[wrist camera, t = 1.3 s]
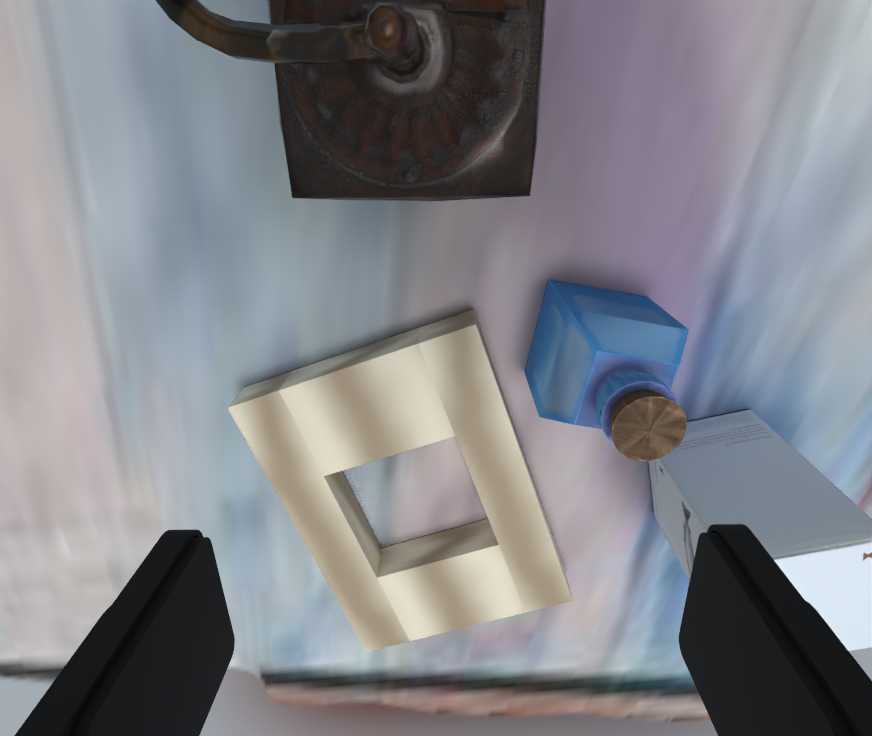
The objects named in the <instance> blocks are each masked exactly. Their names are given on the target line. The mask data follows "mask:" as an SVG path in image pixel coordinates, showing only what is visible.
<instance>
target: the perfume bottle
mask: <svg viewBox="0 0 872 736" xmlns="http://www.w3.org/2000/svg"><path fill="white" fill-rule="evenodd" d="M688 331H689V330H688V329H687V328H686V327H685V326H683V325H682V324H681V323H680V322H678V321H677V320H676V319H675V318H673V317H672V316H671V315H670V314H668V313H667V312H666V311H665V310H663V309H662V308H661V307H659V306H658V305H657V304H656V303H654V302H653V301H652V300H651V299H649V298H648V297H646V296H640V295H634V294H629V293H623V292H617V291H611V290H606V289H600V288H594V287H589V286H583V285H577V284H571V283H566V282H560V281H554V280H549V279H548V283H547V287H546V290H545V294H544V298H543V302H542V306H541V310H540V314H539V318H538V322H537V325H536V329H535V333H534V337H533V341H532V345H531V349H530V353H529V357H528V361H527V364H526V368H525V375H526V378H527V381H528V384H529V387H530V390H531V393H532V396H533V399H534V402H535V405H536V408H537V411H538V414H539V417H542V418H546V419H551V420H555V421H560V422H564V423H568V424H573V425H578V426H585V427H591V428H597V429H602V430H603V432H604V433H605V435H606V436H607V438H608V439H609V440H610V441H612V442H613V443H614V445H615V447H616V448H617V450H618V451H619V452H620V453H621V454H623V455H624V456H626V457H627V458H630V459H633V460H636V461H652V460H656V459H660V458H662V457H664V456H666V455H668V454H670V453H671V452H672V451H673V450H674V449H675V448H677V447H678V446H679V445H680V443H681V441H682V440H683V438H684V436H685V433H686V428H687V421H686V415H685V414H684V412H683V410H682V408H681V407H680V406H679V405H678V401H677V399H676V398H675V396H674V394H673V393H672V391H671V390H670V389H671V386H672V384H673V381H674V378H675V376H676V373H677V370H678V368H679V365H680V361H681V357H682V354H683V350H684V346H685V342H686V338H687V334H688Z"/></svg>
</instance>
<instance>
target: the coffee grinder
mask: <svg viewBox="0 0 872 736" xmlns="http://www.w3.org/2000/svg"><path fill="white" fill-rule="evenodd" d="M156 1H157V3H158V4H159V5H160V6H161V8H162V9H163V10H164V12H165V13H166V14H167V16H168V17H169V18H170V19H171V20H172V21H174V22H175V23H176V24H177V25H179V26H180V27H181V28H182V29H184V30H185V31H186V32H187V33H188V34H190V35H191V36H192V37H193V38H195V39H196V40H198V41H200V42H202V43H204V44H206V45H208V46H210V47H213V48H215V49H217V50H219V51H221V52H223V53H225V54H227V55H229V56H232V57H234V58H237V59H245V60H254V61H262V62H271V63H275V72H276V83H277V94H278V106H279V118H280V126H281V131H282V136H283V141H284V146H285V151H286V158H287V164H288V171H289V178H290V185H291V191H292V198H308V199H334V200H415V201H444V200H462V199H480V198H499V197H517V196H530V190H531V183H532V175H533V167H534V159H535V151H536V142H537V128H538V113H539V98H540V83H541V68H542V53H543V38H544V24H545V9H546V0H267V1H268V9H269V18H270V24H263V23H253V22H244V21H235V20H231V19H229V18H226V17H223V16H221V15H218V14H215V13H213V12H210V11H209V10H208V9H207V8H206V7H205V6H204V5H202V4H201V3H200V2H199V1H198V0H156Z"/></svg>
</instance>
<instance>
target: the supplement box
mask: <svg viewBox="0 0 872 736" xmlns="http://www.w3.org/2000/svg"><path fill="white" fill-rule="evenodd" d="M648 463H649V470H650V478H651V487H652V496H653V507H654V515H655V517H656V519H657V521H658V523H659V525H660V526H661V528H662V530H663V532H664V534H665V536H666V538H667V540H668V542H669V544H670V545H671V547H672V549H673V551H674V553H675V555H676V557H677V558H678V560H679V562H680V564H681V566H682V568H683V570H684V571H685V573H686V575H687V577H688V579H689V581H690V578H691V573H692V568H693V563H694V558H695V553H696V548H697V543H698V538H699V535H700V534H701V533H703V532H707V530H708V528H709V527H710V525H713V524H744V525H746V526H747V527H748V528H749V529H750V530H751V531H752V532H753V534H754V535H755V536H756V538H757V539H758V540H759V541H760V543H761V544H762V545H763V547H764V548H765V549H766V550H767V552H768V553H769V554H770V556H771V557H772V558H773V560H774V561H775V562H776V563H777V565H778V566H779V567H780V569H781V570H782V571H783V573H784V574H785V575H786V576H787V578H788V579H789V580H790V582H791V583H792V584H793V586H794V587H795V588H796V589H797V591H798V592H799V593H800V595H801V596H802V597H803V599H804V600H805V601H807V602H809V603H810V604H811V605H812V606H813V607H814V608H815V609H816V610H817V611H818V613H819V614H820V615H821V617H822V618H823V619H824V620H825V622H826V623H827V624H828V626H829V627H830V628H831V629H832V631H833V632H834V633H835V635H836V636H837V637H838V638H839V640H840V641H841V642H842V644H843V645H844V646H845V647H846V649H847V650H848V651H851V650H857V649H864V648H871V647H872V519H871V518H870V517H869V516H868V515H867V514H866V513H865V512H864V511H863V510H861V509H860V508H859V507H858V506H857V505H856V504H855V503H854V502H853V501H852V500H850V499H849V498H848V497H847V496H846V495H845V494H844V493H843V492H842V491H841V490H839V489H838V488H837V487H836V486H835V485H834V484H833V483H832V482H831V481H829V480H828V479H827V478H826V477H825V476H824V475H823V474H822V473H821V472H820V471H818V470H817V469H816V468H815V467H814V466H813V465H812V464H811V463H810V462H809V461H807V460H806V459H805V458H804V457H803V456H802V455H801V454H800V453H799V452H797V451H796V450H795V449H794V448H793V447H792V446H791V445H790V444H789V443H787V442H786V441H785V440H784V439H783V438H782V437H781V436H780V435H779V434H778V433H776V432H775V431H774V430H773V429H772V428H771V427H770V426H769V425H768V424H767V423H765V422H764V421H763V420H762V419H761V418H760V417H759V416H758V415H757V414H756V413H754V412H753V410H744V411H739V412H734V413H729V414H724V415H720V416H715V417H709V418H705V419H701V420H695V421H690V422H687V428H686V433H685V436H684V438H683V440H682V441H681V443H680V445H679V446H678V447H677V448H675V449H674V450H673V451H672V452H671V453H670V454H668V455H666V456H664V457H662V458H660V459H656V460H652V461H648Z"/></svg>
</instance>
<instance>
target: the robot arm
mask: <svg viewBox="0 0 872 736" xmlns="http://www.w3.org/2000/svg"><path fill="white" fill-rule="evenodd" d="M679 645H680V650H681V653H682V656H683V659H684V661H685V663H686V665H687V668H688V670H689V672H690V674H691V676H692V679H693V681H694V683H695V685H696V687H697V690H698V692H699V694H700V696H701V699H702V701H703V703H704V705H705V707H706V710H707V712H708V714H709V716H710V719H711V721H712V723H713V725H714V727H715V730H716V732H717V734H718V736H872V681H871V679H870V678H869V677H868V676H867V674H866V673H865V672H864V671H863V669H862V668H861V667H860V665H859V664H858V663H857V662H856V660H855V659H854V658H853V656H852V655H851V654H850V653H849V651H848V650H847V649H846V647H845V646H844V645H843V644H842V642H841V641H840V640H839V638H838V637H837V636H836V635H835V633H834V632H833V631H832V629H831V628H830V627H829V626H828V624H827V623H826V622H825V620H824V619H823V618H822V617H821V615H820V614H819V613H818V611H817V610H816V609H815V608H814V607H813V606H812V605H811V604H810V603H809V602H807V601H805V600H804V599H803V597H802V596H801V595H800V593H799V592H798V591H797V589H796V588H795V587H794V586H793V584H792V583H791V582H790V580H789V579H788V578H787V576H786V575H785V574H784V573H783V571H782V570H781V569H780V567H779V566H778V565H777V563H776V562H775V561H774V560H773V558H772V557H771V556H770V554H769V553H768V552H767V550H766V549H765V548H764V547H763V545H762V544H761V543H760V541H759V540H758V539H757V538H756V536H755V535H754V534H753V532H752V531H751V530H750V529H749V528H748V527H747V526H746V525H744V524H713V525H710V527H709V528H708V530H707V532H703V533H701V534H700V535H699V538H698V543H697V548H696V553H695V558H694V563H693V568H692V573H691V578H690V583H689V588H688V593H687V598H686V603H685V608H684V613H683V618H682V623H681V628H680V633H679ZM233 651H234V634H233V630H232V625H231V621H230V617H229V613H228V609H227V605H226V601H225V597H224V592H223V588H222V584H221V580H220V576H219V572H218V568H217V564H216V559H215V555H214V551H213V547H212V543H211V540H210V539H209V538H207V537H203V535H202V533H201V532H200V531H199V530H168V531H166V532H165V533H164V534H163V535H162V536H161V537H160V539H159V540H158V542H157V543H156V544H155V546H154V547H153V549H152V550H151V551H150V553H149V554H148V555H147V557H146V558H145V560H144V561H143V562H142V564H141V565H140V567H139V568H138V569H137V571H136V572H135V574H134V575H133V576H132V578H131V579H130V580H129V582H128V583H127V585H126V586H125V587H124V589H123V590H122V592H121V593H120V594H119V596H118V597H117V599H116V600H115V601H114V603H113V604H112V605H111V606H110V607H109V608H108V609H107V610H106V611H105V612H104V613H103V615H102V616H101V617H100V619H99V620H98V621H97V623H96V624H95V626H94V627H93V628H92V630H91V631H90V633H89V634H88V635H87V637H86V638H85V639H84V641H83V642H82V644H81V645H80V646H79V648H78V649H77V650H76V652H75V653H74V655H73V656H72V657H71V659H70V660H69V661H68V663H67V664H66V666H65V667H64V668H63V670H62V671H61V672H60V674H59V675H58V677H57V678H56V679H55V681H54V682H53V684H52V685H51V686H50V688H49V689H48V690H47V692H46V693H45V695H44V696H43V697H42V699H41V700H40V702H39V703H38V704H37V706H36V707H35V708H34V710H33V711H32V712H31V714H30V715H29V717H28V718H27V719H26V721H25V722H24V724H23V725H22V726H21V728H20V729H19V730H18V732H17V733H16V735H15V736H199V735H200V732H201V730H202V728H203V725H204V723H205V720H206V718H207V716H208V713H209V711H210V708H211V706H212V704H213V701H214V699H215V696H216V694H217V692H218V689H219V687H220V684H221V682H222V680H223V677H224V675H225V672H226V670H227V668H228V665H229V663H230V661H231V658H232V655H233Z"/></svg>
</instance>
